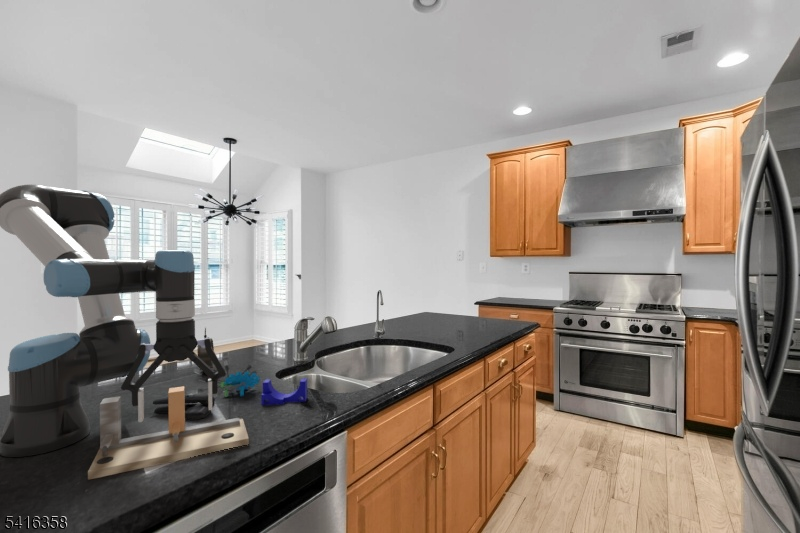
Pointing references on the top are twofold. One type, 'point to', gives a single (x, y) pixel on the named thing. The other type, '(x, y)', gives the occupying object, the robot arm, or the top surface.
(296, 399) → the cable clip
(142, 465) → the plate
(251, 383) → the gear
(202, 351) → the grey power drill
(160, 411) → the can opener
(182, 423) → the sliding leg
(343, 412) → the top surface
